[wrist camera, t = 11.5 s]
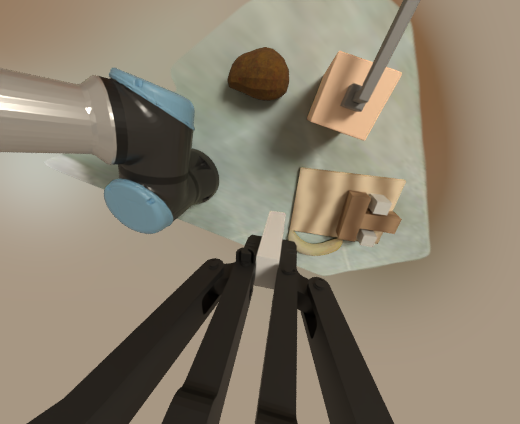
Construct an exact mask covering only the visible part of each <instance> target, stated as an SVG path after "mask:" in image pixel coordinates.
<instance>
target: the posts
mask: <svg viewBox="0 0 520 424" xmlns="http://www.w3.org/2000/svg"><path fill="white" fill-rule="evenodd" d="M369 197H370V198H371V200H370V203H369V205H368V207H369V209H370V210H371V211H372V213H374V214H381V215H387V214H388V212H389V210H390V208H391V205H392V203H391V202H390V201H389V200H388V199H387V198H386V197H385V196H384V195H380V194H372V193H370V195H369ZM356 237H357V239H358V241H359V243H360V245H363V246H369V247H373V246H374V243H375V241H376V239H377V236H376V234H375V233H374V231H373V230H367V229H361V228H360V229H359V231H358V234H357V236H356Z"/></svg>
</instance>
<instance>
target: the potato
mask: <svg viewBox="0 0 520 424" xmlns="http://www.w3.org/2000/svg"><path fill="white" fill-rule="evenodd" d="M228 84H229V87H230V88H233V89H235V90H238V91H240V92H243V93H245V94H247V95H249V96H251V97H253V98H256V99H260V100H274V99H277V98H280V97H282V96H283V95H284V94H285V93H286V91H287V88H288V84H289V69H288V67H287V65H286V63H285V60H284V58H283V57H282V56H281V55H280V54H279V53H278V52H276V51H275V50H274V49H271V48H267V47H263V48H259V49H256V50H253V51H251V52H247V53H244V54H242V55H241V56H239V57H238V58H237V59H236V60H235V62H234V63H233V64H232V67H231V69H230V72H229V76H228Z"/></svg>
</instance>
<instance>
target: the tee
mask: <svg viewBox="0 0 520 424" xmlns="http://www.w3.org/2000/svg"><path fill="white" fill-rule="evenodd" d="M370 200H371V198H370V197H369V195H368V194H367V193H366V192H360V191H353V190H348V194H347V197H346V200H345V203H344V206H343V209H342V212H341V215H340V219H339V222H338V225H337V228H336V233H337V236H338V239H342V240H348V241H354V242H355V239H356V236H357V234H358V231H359V229H360V228H361V229H367V230H373V231H380V232H386V233H392V234H395V232H396V230H397V228H398V226H399V224H400V222H401V220H402V219H401V218H400V217H399V216H398V215H397V214H396V213H395V212H393V211H389V212H388V214H387V215H381V214H374V213H372V211H371V210H370V209H369V208H368V205H369V203H370Z"/></svg>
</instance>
